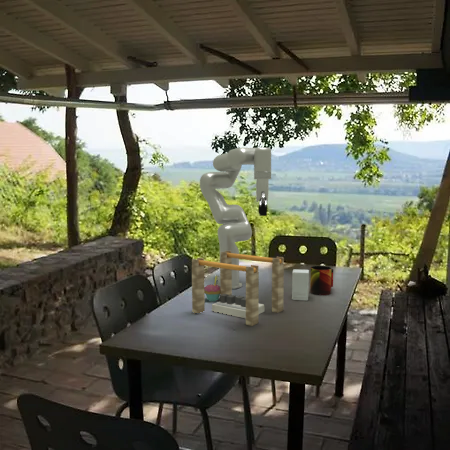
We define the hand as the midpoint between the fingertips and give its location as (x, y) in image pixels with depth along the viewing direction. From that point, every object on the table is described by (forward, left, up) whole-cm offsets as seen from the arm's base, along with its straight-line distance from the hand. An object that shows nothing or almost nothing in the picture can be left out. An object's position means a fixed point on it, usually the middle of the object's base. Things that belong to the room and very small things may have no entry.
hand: (262, 214), depth 219 cm
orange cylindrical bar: (+2, -13, -17) cm, 21 cm away
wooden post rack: (+2, -23, -38) cm, 44 cm away
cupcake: (-17, -15, -38) cm, 45 cm away
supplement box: (+14, +10, -39) cm, 42 cm away
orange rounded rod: (+2, -33, -17) cm, 37 cm away
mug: (+17, +26, -39) cm, 50 cm away
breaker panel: (+2, -23, -38) cm, 44 cm away
